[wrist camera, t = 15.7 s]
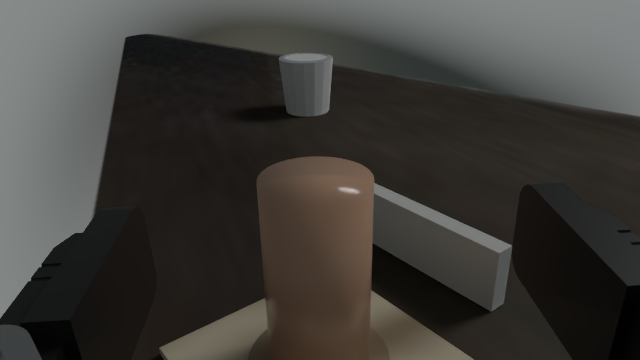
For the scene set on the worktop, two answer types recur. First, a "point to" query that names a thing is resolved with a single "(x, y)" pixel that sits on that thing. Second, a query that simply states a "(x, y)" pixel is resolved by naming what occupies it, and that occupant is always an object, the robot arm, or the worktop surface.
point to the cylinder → (317, 257)
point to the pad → (253, 346)
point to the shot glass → (306, 83)
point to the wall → (442, 247)
